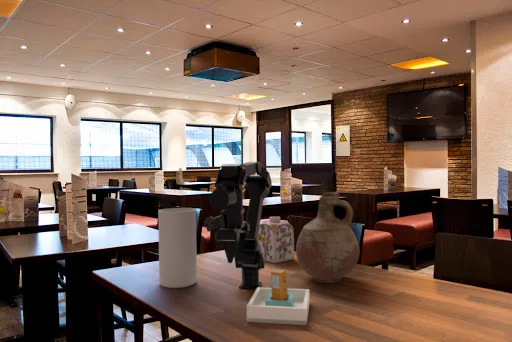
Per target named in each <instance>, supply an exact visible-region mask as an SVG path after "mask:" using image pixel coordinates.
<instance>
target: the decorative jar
mask: <svg viewBox="0 0 512 342" xmlns="http://www.w3.org/2000/svg"><path fill="white" fill-rule="evenodd" d="M294 235H295V234H294V227H293V225H292V224H291V223H289V221H287V220H281V217H280V216H269V218H268V220H265V221H261V222H260V226H259V233H258V242H259V244H260V247H261V252H262V255H263V257H264V259H265V262H266V261H268V262H267V263H270V262H272V263H271V264H274V263H275V264H279V262H280V263H283V261H284V262H288V260H289V261H293V260H294V259H295V238H294V237H295V236H294ZM292 259H293V260H292Z"/></svg>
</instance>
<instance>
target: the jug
mask: <svg viewBox="0 0 512 342" xmlns="http://www.w3.org/2000/svg"><path fill="white" fill-rule="evenodd" d="M335 207H341V208H344V210H345V217H344V218H343V219H339V218H338V217H337V216H336V215H335V213H334V208H335ZM317 210H318V211H317V216H316V217H315V218H314V219H313V220H311V221H309V222H308V223H306V224H305V225H304V226H303V228H302V229H301V231H300V233H299V235H298V238H297V241H296V245H295V253H296V258H297V261H298V263H299V265H300V267H301V269H302V270H303V271H304V272H305V273H306V274H307V275H309V276H310V277H312V279H313V281H315V282H316V283H320V284H335V283H340V281H341V280H342V278H344V277H346V276H347V275H348V274H350V273H351V272H352V271H353V270H354V269H355V267H356V266H357V263H358V261H359V258H360V252H361V249H360V246H359V241H358V239H357V237H356V234H355V232H354V231H353V229H352V226H351V224H352V221H353V217H354V210H353V207H352V205H351V204H350V202H348V201H346V200H342V199H340V193H339V192H336V191H335V192H334V191H333V192H323V193H322V195H321V196H320V197H319V199H318V209H317Z"/></svg>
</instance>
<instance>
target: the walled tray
mask: <svg viewBox="0 0 512 342" xmlns="http://www.w3.org/2000/svg"><path fill="white" fill-rule="evenodd" d="M287 288H288V300H272V287H262V286H260V287H258V288H257V289H255V291H254V293H253V295H252V296H251V298H250V299H249V301H248V303H247V304H246V322H247V323H260V324H261V323H262V324H281V325H297V326H307V324H308V318H309V310H310V303H311V302H310V296H311V295H310V288H307V289H306V288H289V287H287Z"/></svg>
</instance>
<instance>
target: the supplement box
mask: <svg viewBox="0 0 512 342" xmlns="http://www.w3.org/2000/svg"><path fill="white" fill-rule="evenodd" d="M270 281H271V282H270V283H271V284H270V285H271V288H272V300H288V288H289V287H288V273H287V270H282V269H276V270H273V271H271V272H270Z"/></svg>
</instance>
